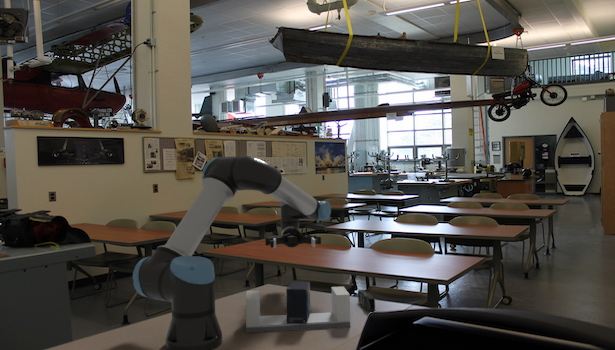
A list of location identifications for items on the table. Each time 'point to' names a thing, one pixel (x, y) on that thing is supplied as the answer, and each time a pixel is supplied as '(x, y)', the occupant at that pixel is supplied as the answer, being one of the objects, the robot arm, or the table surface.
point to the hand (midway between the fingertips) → (294, 244)
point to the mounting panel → (281, 324)
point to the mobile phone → (366, 300)
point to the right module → (340, 304)
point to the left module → (253, 308)
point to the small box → (298, 302)
